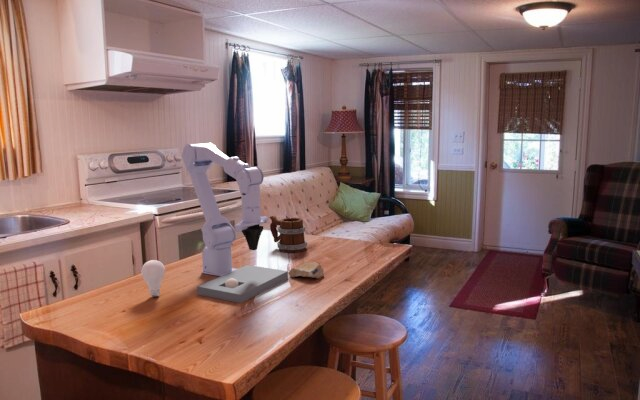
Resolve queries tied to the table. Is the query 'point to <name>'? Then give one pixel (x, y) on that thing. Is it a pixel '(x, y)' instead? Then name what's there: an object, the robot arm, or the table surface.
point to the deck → (243, 283)
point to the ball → (231, 283)
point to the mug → (289, 234)
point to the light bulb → (153, 276)
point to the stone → (307, 270)
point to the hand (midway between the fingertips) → (253, 249)
